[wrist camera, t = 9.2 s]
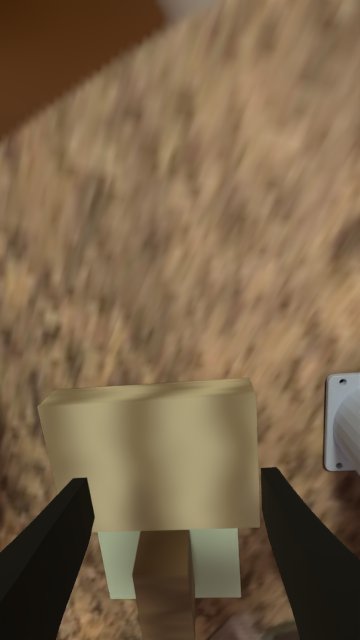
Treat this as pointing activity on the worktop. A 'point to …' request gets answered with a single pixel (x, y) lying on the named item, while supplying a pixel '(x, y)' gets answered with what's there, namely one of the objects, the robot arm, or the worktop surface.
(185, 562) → the walnut block
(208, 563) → the green mat
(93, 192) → the worktop surface
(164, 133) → the worktop surface
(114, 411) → the maple board
